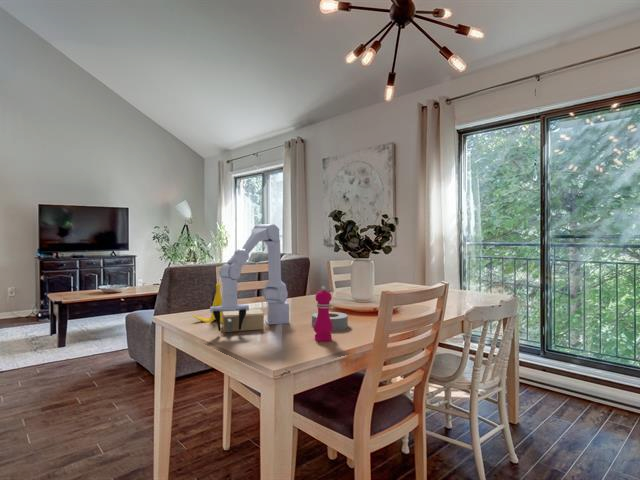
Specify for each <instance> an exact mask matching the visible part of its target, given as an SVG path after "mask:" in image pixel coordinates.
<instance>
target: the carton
mask: <svg viewBox="0 0 640 480" xmlns="http://www.w3.org/2000/svg"><path fill="white" fill-rule="evenodd" d="M259 314H264V315H265V313H264V312H263V310H262V309H261V308H252V309H251V308H249V311H246V315H259ZM224 316H239V311H225V312H222V323H221V326H222V330H223V332H224ZM258 330H260V331H261V330H262V329H258ZM258 330H257V331H258ZM243 331H247V330H243ZM243 331H242V332H243Z"/></svg>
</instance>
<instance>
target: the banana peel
mask: <svg viewBox="0 0 640 480" xmlns="http://www.w3.org/2000/svg"><path fill="white" fill-rule="evenodd" d="M215 287H216V290H215V291H216V292H215V295H214V299H213V302H212V306H211V307H213V306H222V294H221V291H220V290H221V289H220V288H221V283H216V284H215ZM192 316H193V317H194V318H195V319H197V320H198V321H201V322H202V323H212V322H214V321H215V320H216V319H215V317H214V314H213V312H212V313H211V316H210V317H209V318H206V317H204V318H203V317H200V316H197V315H195V314H192ZM220 324H222V312H220Z"/></svg>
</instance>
